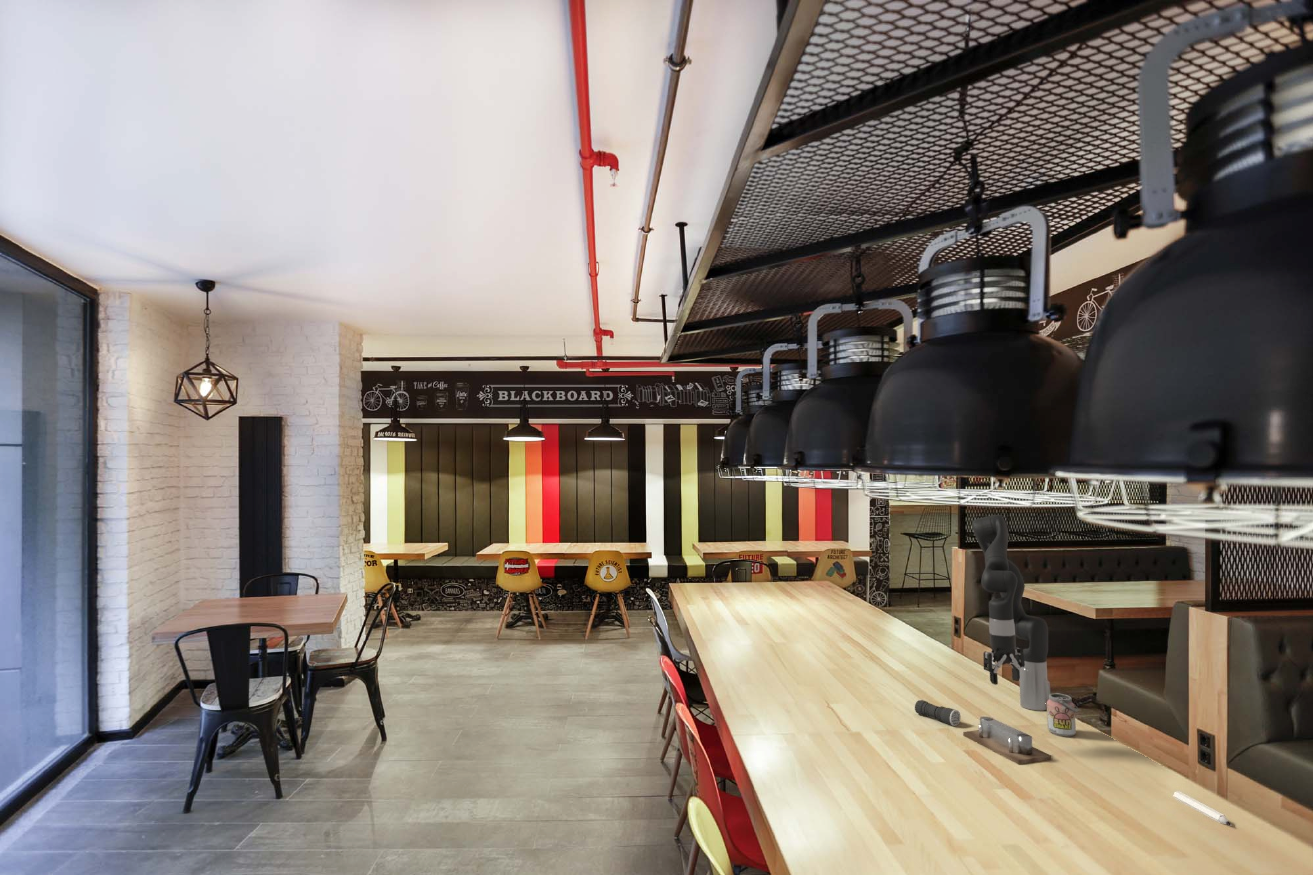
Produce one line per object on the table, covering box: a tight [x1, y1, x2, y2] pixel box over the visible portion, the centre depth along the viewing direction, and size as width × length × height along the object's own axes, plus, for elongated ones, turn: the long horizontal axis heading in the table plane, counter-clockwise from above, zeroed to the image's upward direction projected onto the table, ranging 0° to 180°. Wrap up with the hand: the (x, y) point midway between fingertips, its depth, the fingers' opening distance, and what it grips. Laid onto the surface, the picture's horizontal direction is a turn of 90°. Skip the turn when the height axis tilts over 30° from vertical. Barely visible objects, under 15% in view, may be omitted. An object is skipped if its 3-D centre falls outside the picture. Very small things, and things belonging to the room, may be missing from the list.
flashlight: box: [914, 699, 962, 727], centre depth 247 cm, size 15×5×5 cm, turn 32°
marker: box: [1172, 790, 1233, 827], centre depth 177 cm, size 3×2×16 cm
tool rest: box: [962, 723, 1052, 765], centre depth 221 cm, size 12×24×5 cm, turn 15°
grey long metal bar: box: [979, 716, 1033, 755], centre depth 221 cm, size 4×20×5 cm, turn 15°
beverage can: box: [1046, 692, 1080, 738], centre depth 232 cm, size 9×8×12 cm
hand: (1005, 682), depth 226 cm, fingers open, 8 cm apart
